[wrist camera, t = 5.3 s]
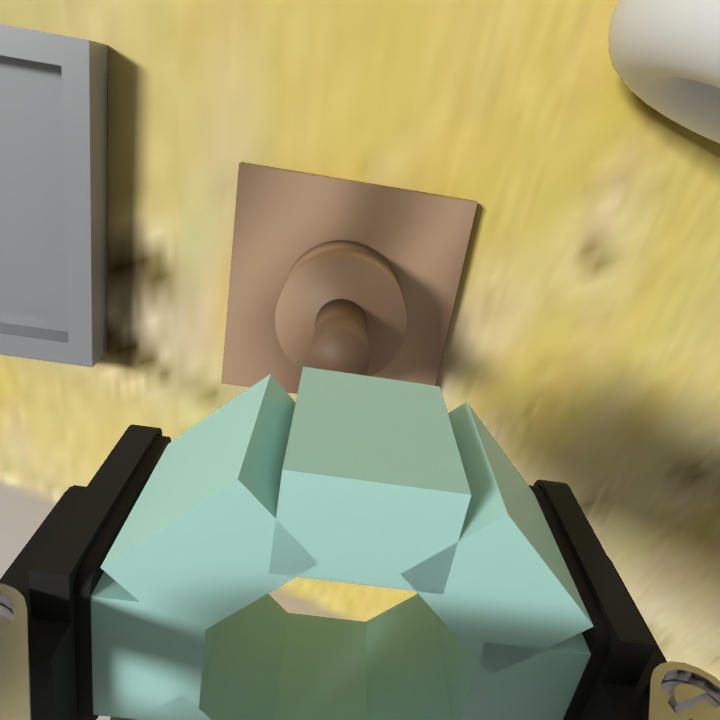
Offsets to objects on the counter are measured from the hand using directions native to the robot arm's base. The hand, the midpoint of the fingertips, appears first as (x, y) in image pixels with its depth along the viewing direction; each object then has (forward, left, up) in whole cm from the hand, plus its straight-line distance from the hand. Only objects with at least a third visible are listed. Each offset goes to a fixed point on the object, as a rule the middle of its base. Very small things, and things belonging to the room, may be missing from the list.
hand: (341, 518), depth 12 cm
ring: (0, 0, +1) cm, 1 cm away
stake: (0, 0, -17) cm, 17 cm away
